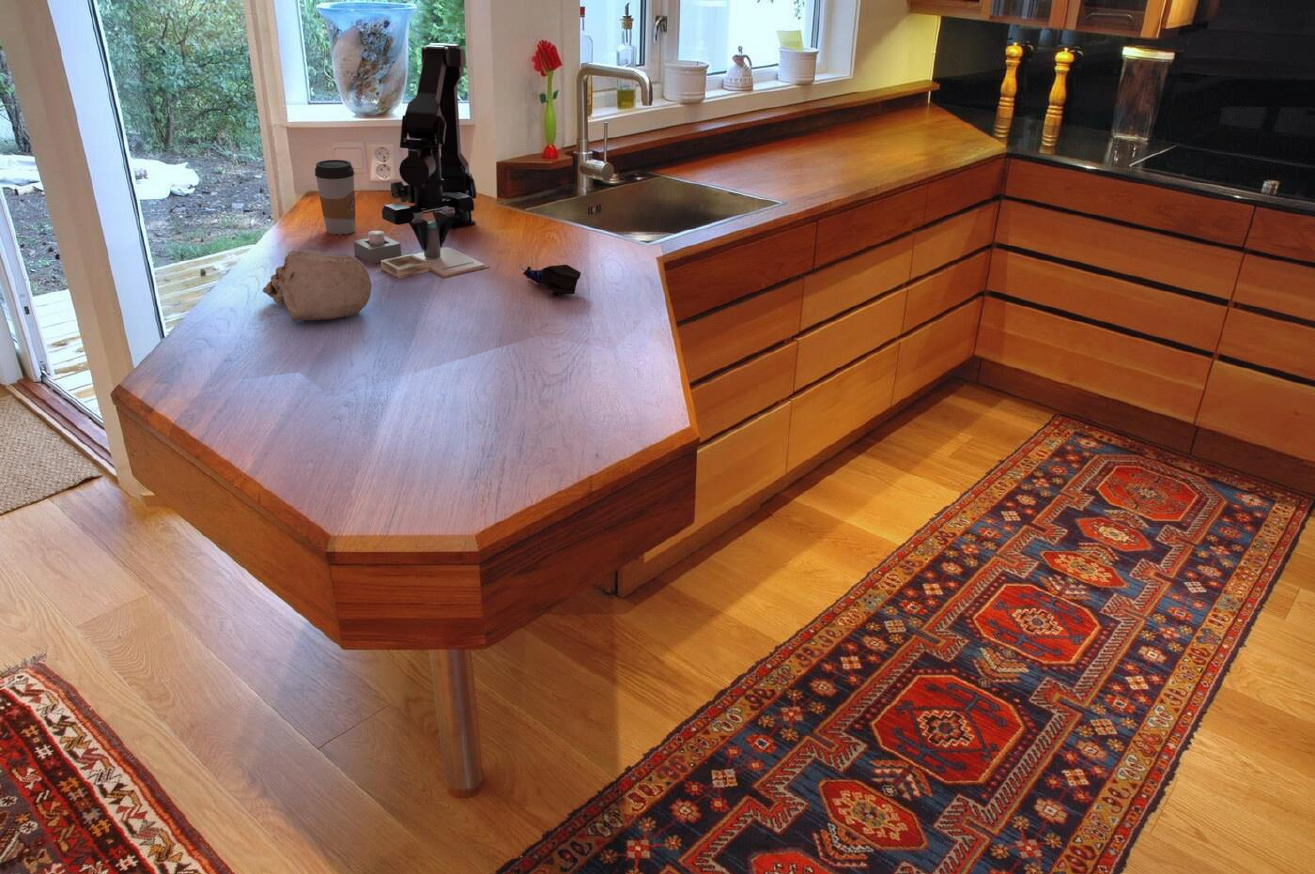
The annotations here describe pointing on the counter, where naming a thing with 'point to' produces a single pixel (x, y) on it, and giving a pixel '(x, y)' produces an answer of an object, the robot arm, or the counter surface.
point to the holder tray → (405, 266)
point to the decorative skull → (320, 285)
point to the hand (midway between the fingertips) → (431, 248)
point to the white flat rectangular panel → (451, 263)
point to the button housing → (377, 250)
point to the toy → (555, 278)
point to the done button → (376, 238)
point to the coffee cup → (337, 195)
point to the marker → (432, 240)
